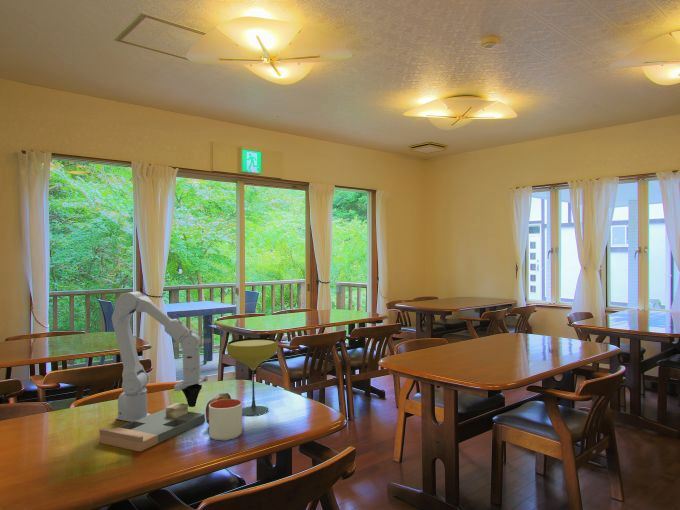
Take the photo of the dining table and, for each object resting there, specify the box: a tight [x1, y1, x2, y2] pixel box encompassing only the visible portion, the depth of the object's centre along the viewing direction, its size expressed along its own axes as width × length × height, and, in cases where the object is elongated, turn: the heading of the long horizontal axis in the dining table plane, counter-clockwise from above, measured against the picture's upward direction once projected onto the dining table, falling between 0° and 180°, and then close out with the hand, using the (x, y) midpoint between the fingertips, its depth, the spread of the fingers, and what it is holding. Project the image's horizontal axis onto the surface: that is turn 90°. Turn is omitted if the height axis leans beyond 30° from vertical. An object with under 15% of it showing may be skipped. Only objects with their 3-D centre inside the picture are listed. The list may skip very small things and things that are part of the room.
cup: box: [208, 398, 243, 441], centre depth 146 cm, size 10×10×10 cm
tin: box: [205, 392, 232, 425], centre depth 160 cm, size 15×3×8 cm, turn 168°
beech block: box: [165, 402, 189, 418], centre depth 159 cm, size 4×6×3 cm
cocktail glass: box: [226, 337, 279, 417], centre depth 170 cm, size 18×18×25 cm
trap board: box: [99, 408, 206, 452], centre depth 151 cm, size 17×27×4 cm, turn 155°
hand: (191, 406), depth 166 cm, fingers closed
